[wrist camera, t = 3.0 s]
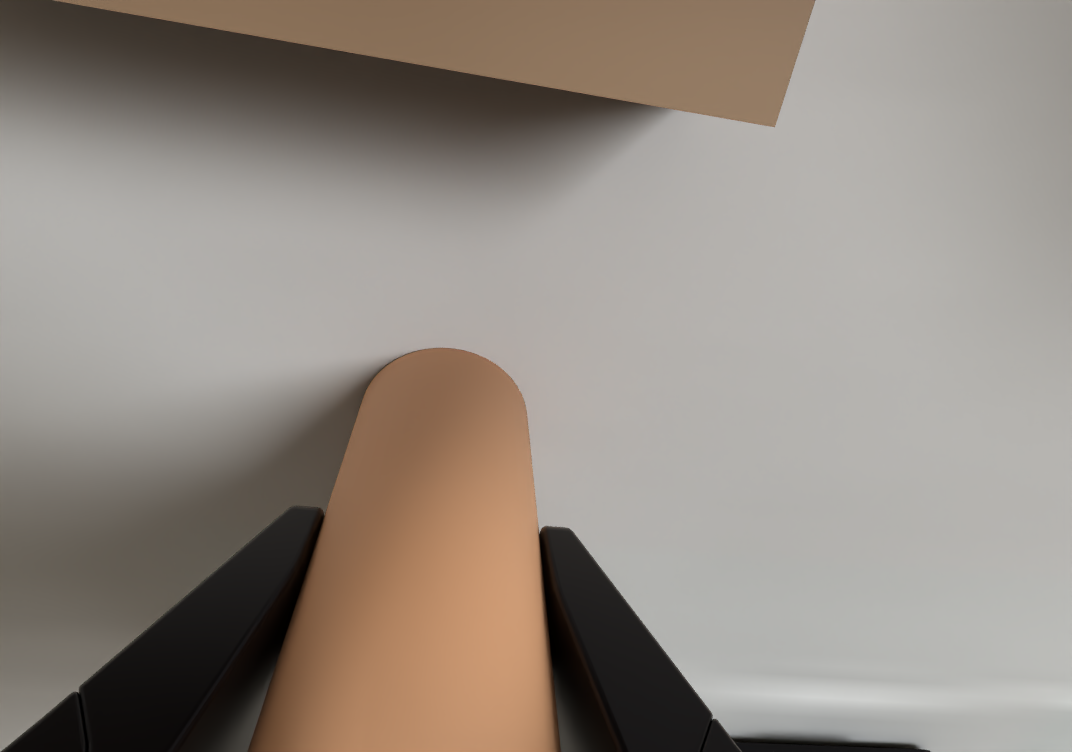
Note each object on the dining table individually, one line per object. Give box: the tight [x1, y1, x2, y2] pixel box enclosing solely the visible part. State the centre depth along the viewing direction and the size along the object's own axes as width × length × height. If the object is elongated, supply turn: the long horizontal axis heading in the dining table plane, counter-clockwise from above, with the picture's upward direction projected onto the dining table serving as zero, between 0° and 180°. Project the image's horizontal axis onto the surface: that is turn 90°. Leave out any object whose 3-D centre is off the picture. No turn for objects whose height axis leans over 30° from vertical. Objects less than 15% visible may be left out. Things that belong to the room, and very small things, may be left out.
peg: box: [248, 348, 561, 752], centre depth 7 cm, size 3×3×10 cm
